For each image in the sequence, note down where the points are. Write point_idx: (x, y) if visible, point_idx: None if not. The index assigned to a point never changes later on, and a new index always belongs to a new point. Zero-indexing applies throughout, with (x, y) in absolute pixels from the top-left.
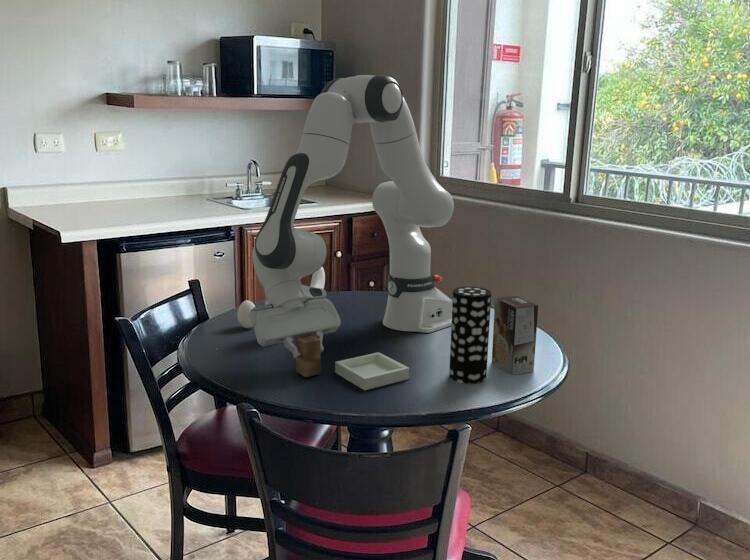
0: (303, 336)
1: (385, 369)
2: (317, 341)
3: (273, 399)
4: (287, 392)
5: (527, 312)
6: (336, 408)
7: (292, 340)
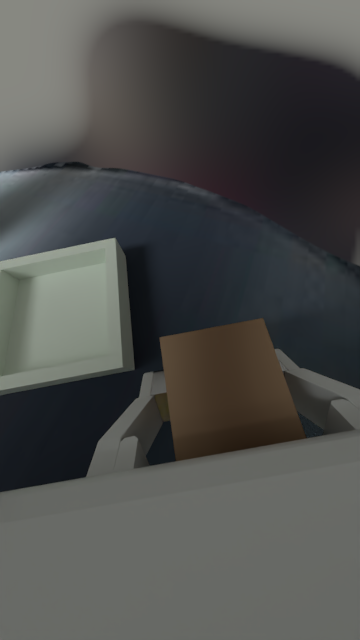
0: None
1: (26, 320)
2: (178, 336)
3: (322, 270)
4: (285, 294)
5: None
6: (205, 208)
7: (334, 403)
